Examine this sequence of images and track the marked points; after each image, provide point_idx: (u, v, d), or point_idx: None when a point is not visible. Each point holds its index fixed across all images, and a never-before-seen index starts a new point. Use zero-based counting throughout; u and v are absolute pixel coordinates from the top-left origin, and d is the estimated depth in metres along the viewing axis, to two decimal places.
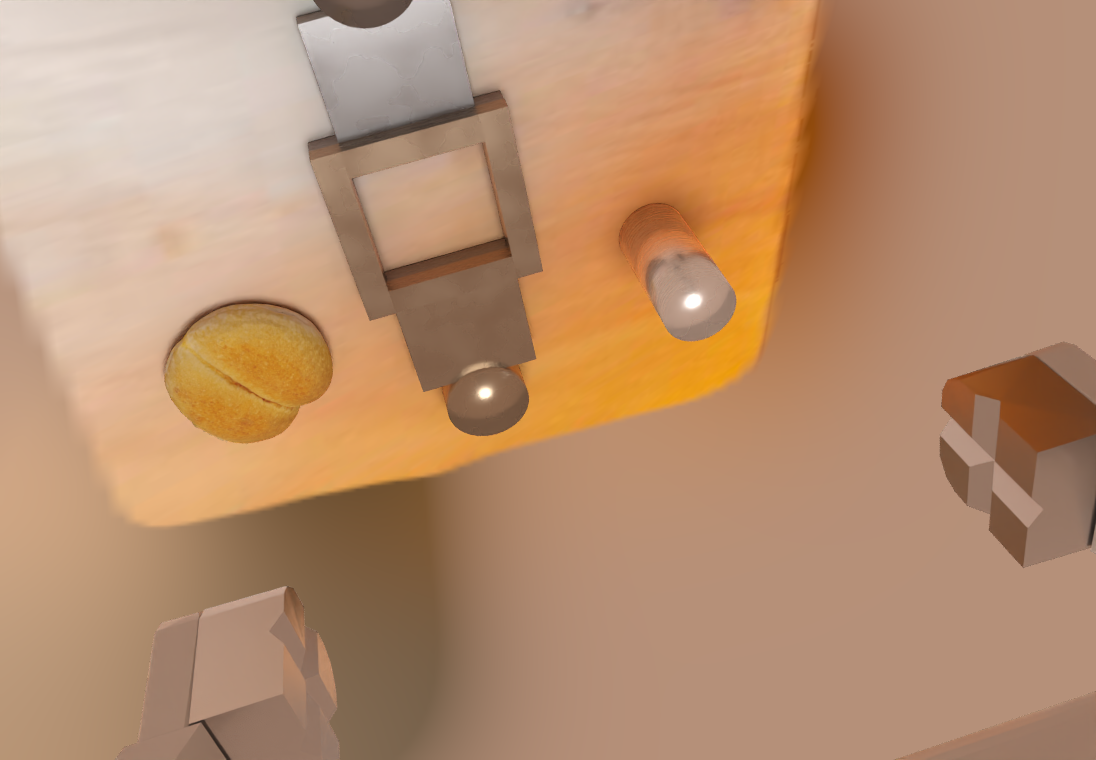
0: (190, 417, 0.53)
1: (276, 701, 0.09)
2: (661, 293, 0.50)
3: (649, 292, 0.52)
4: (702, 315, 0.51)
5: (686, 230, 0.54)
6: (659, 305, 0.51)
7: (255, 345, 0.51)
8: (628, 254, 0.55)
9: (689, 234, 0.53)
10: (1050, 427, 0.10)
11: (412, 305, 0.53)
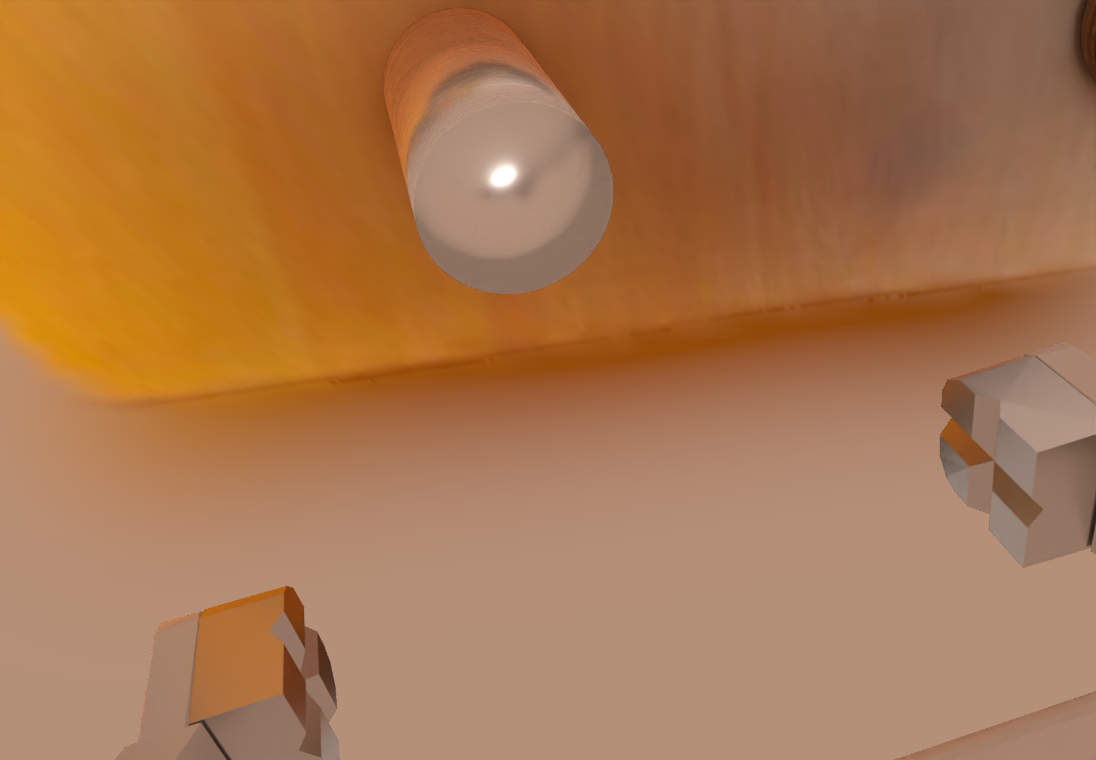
0: None
1: (276, 701, 0.09)
2: (539, 92, 0.19)
3: (480, 69, 0.20)
4: (497, 213, 0.19)
5: None
6: (508, 90, 0.19)
7: None
8: (462, 25, 0.23)
9: None
10: (1050, 427, 0.10)
11: None
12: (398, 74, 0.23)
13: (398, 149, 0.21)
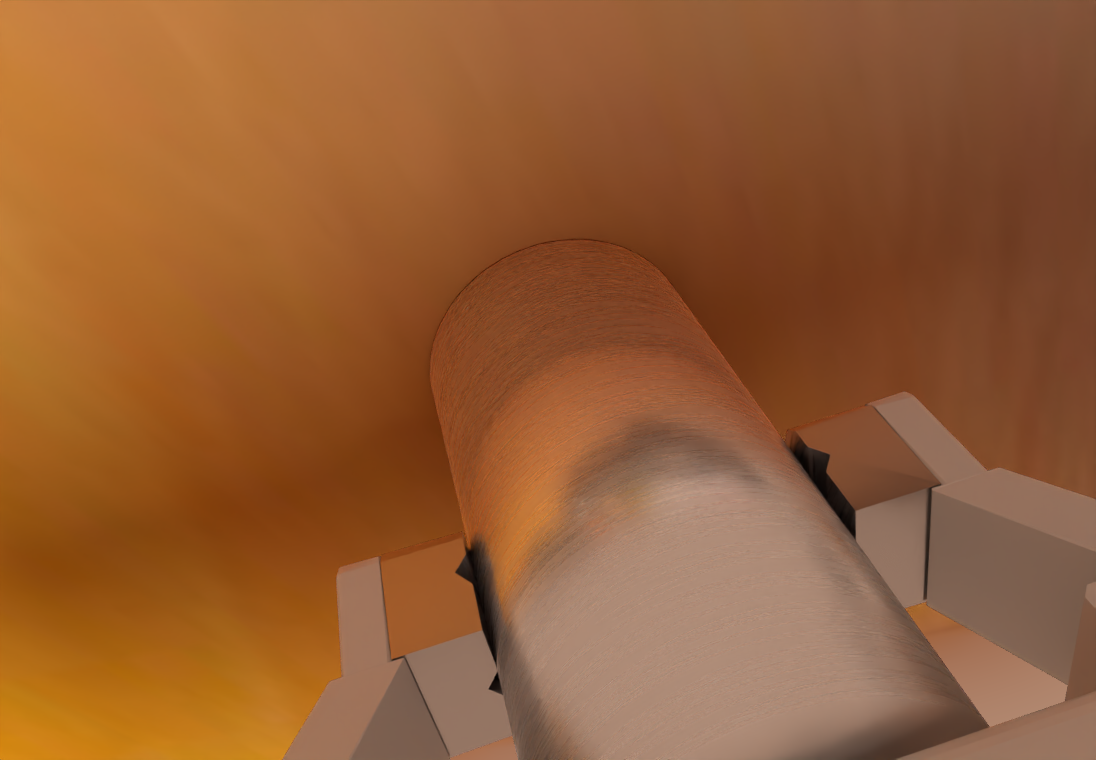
0: None
1: (474, 638, 0.10)
2: (848, 605, 0.08)
3: (681, 495, 0.09)
4: None
5: None
6: (788, 622, 0.08)
7: None
8: (593, 302, 0.12)
9: None
10: (873, 484, 0.10)
11: None
12: (469, 396, 0.12)
13: (480, 591, 0.11)
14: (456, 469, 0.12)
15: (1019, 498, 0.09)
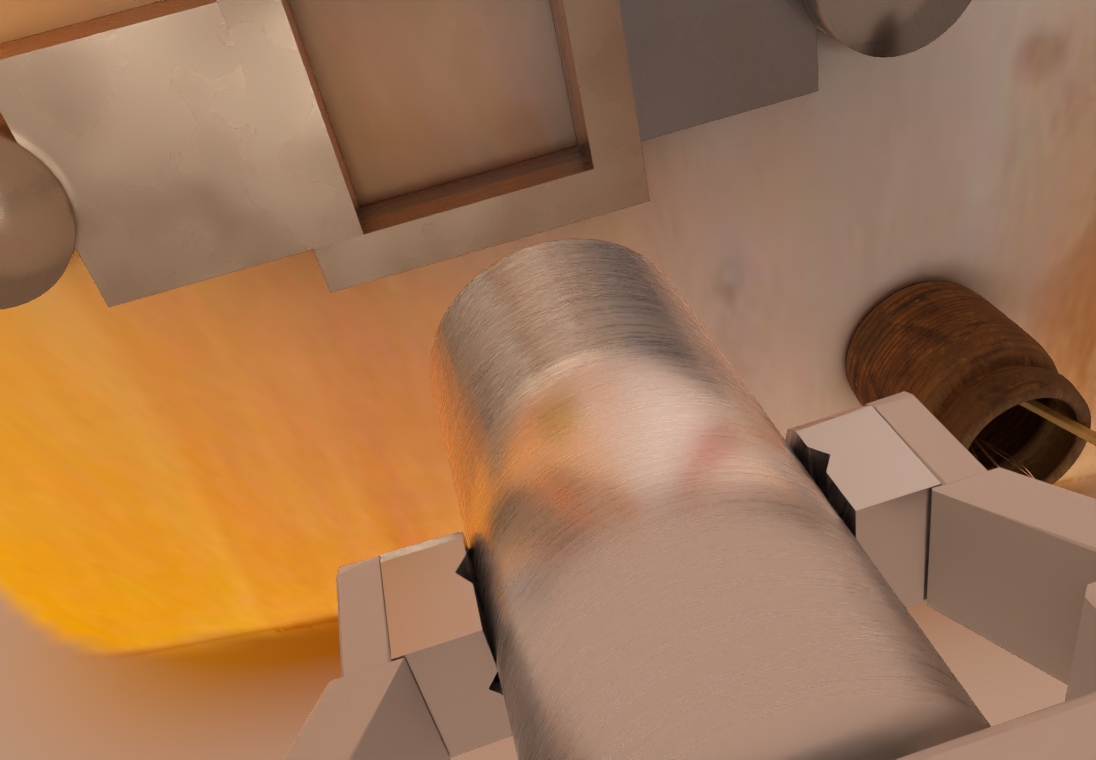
0: None
1: (475, 638, 0.10)
2: (849, 604, 0.08)
3: (683, 494, 0.09)
4: None
5: None
6: (788, 623, 0.08)
7: None
8: (593, 301, 0.12)
9: None
10: (873, 484, 0.10)
11: (239, 39, 0.24)
12: (470, 395, 0.12)
13: (481, 591, 0.11)
14: (456, 469, 0.12)
15: (1018, 499, 0.09)
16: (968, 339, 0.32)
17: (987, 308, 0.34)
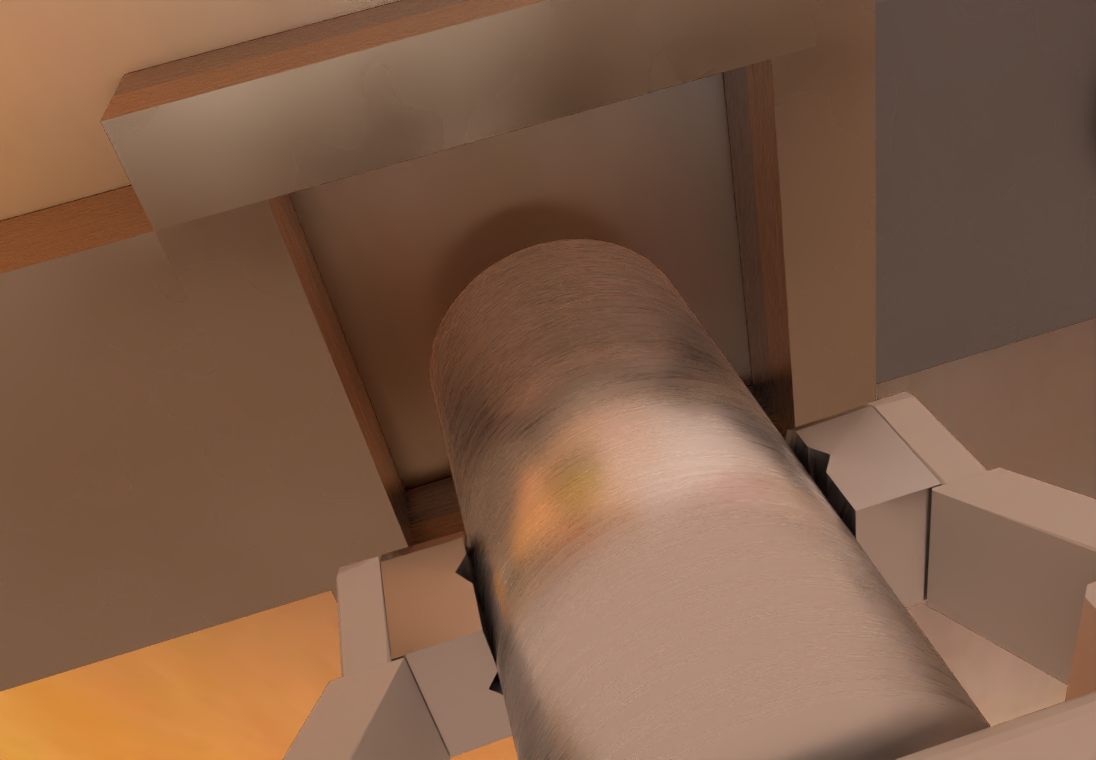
0: None
1: (475, 638, 0.10)
2: (850, 605, 0.08)
3: (682, 495, 0.09)
4: None
5: None
6: (788, 621, 0.08)
7: None
8: (593, 301, 0.12)
9: None
10: (873, 484, 0.10)
11: (199, 291, 0.13)
12: (469, 395, 0.12)
13: (480, 591, 0.11)
14: (456, 469, 0.12)
15: (1019, 498, 0.09)
16: None
17: None
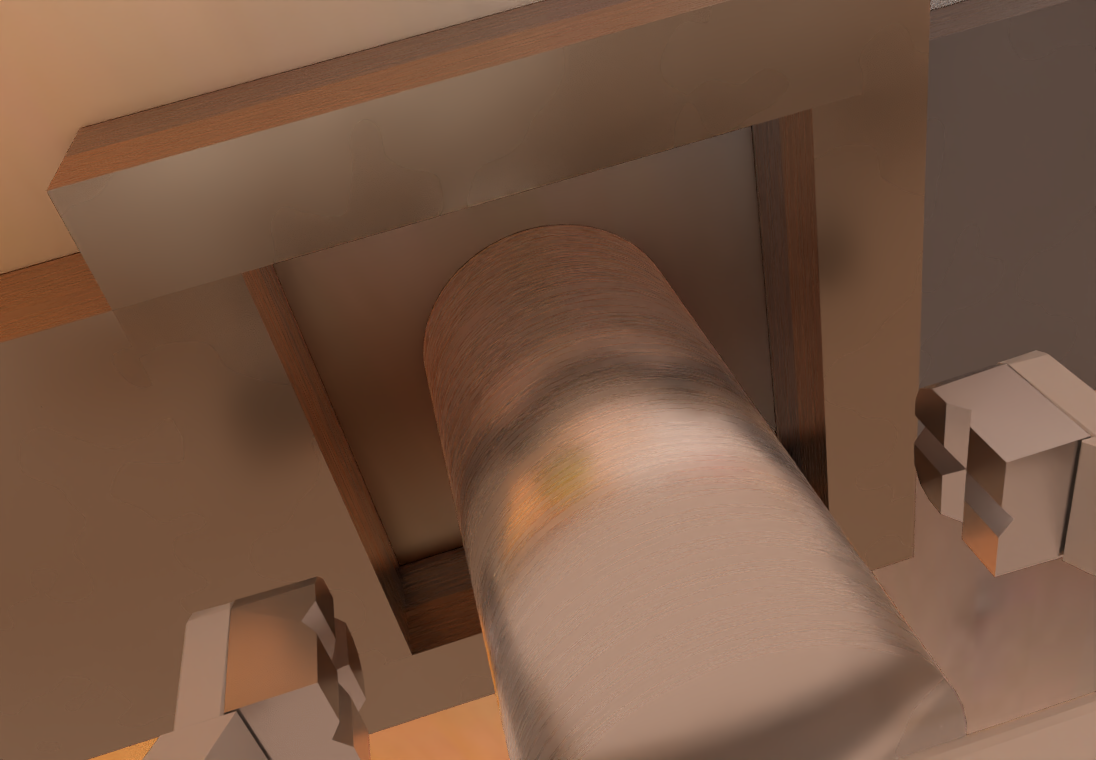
0: None
1: (311, 690, 0.09)
2: (814, 563, 0.08)
3: (658, 462, 0.09)
4: None
5: None
6: (753, 578, 0.08)
7: None
8: (579, 283, 0.12)
9: None
10: (1020, 437, 0.10)
11: (166, 374, 0.12)
12: (459, 374, 0.12)
13: (468, 559, 0.11)
14: (446, 444, 0.12)
15: None
16: None
17: None
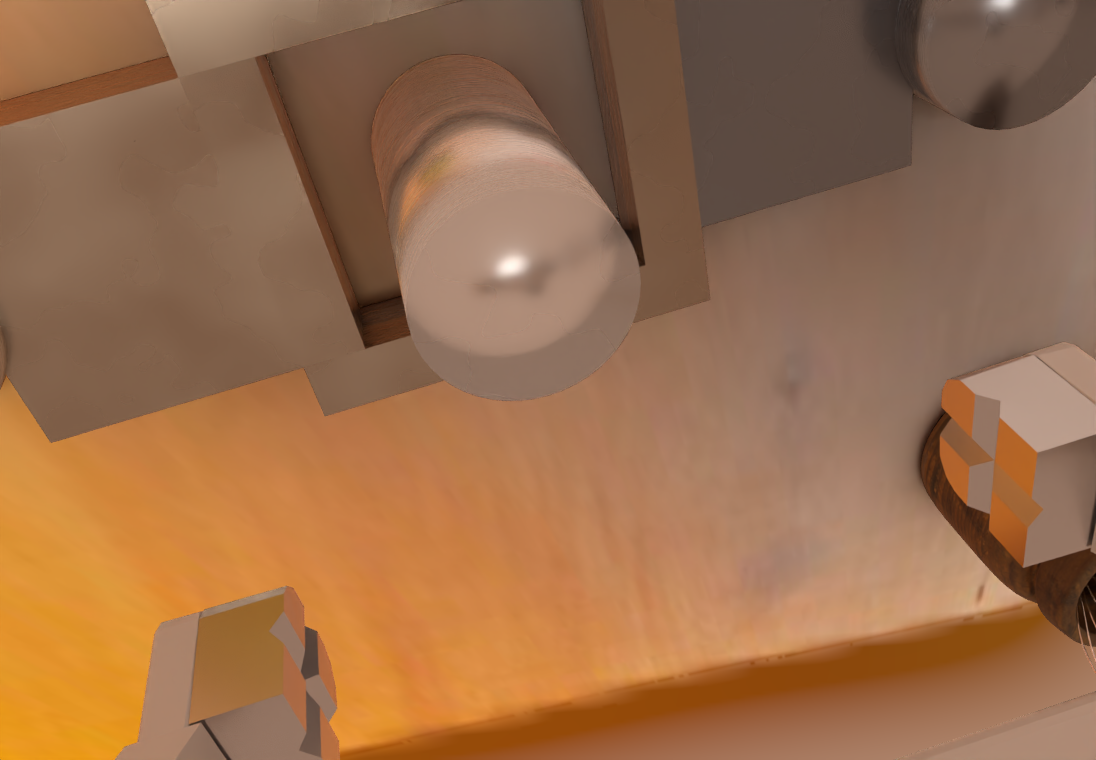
0: None
1: (276, 701, 0.09)
2: (554, 170, 0.16)
3: (483, 138, 0.17)
4: (504, 313, 0.16)
5: None
6: (518, 170, 0.16)
7: None
8: (461, 77, 0.20)
9: None
10: (1050, 427, 0.10)
11: (208, 123, 0.19)
12: (388, 133, 0.20)
13: (387, 224, 0.19)
14: (379, 176, 0.20)
15: None
16: None
17: None
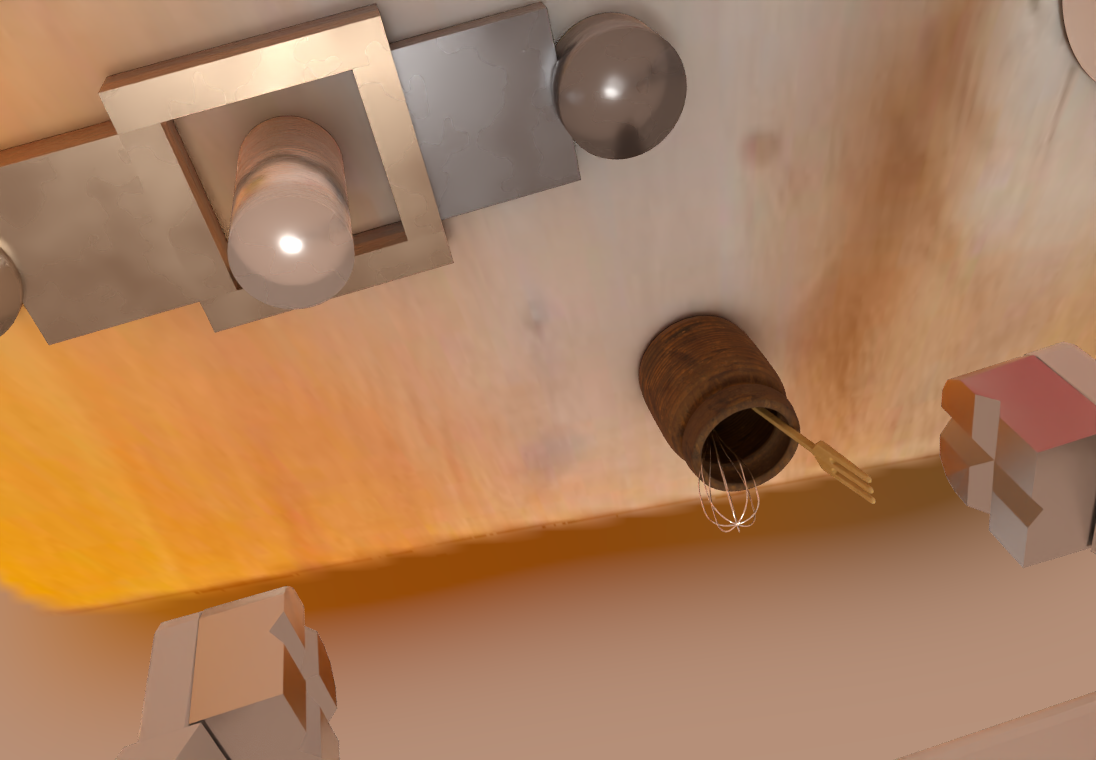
0: None
1: (276, 701, 0.09)
2: (305, 188, 0.31)
3: (276, 170, 0.32)
4: (281, 261, 0.31)
5: None
6: (284, 187, 0.31)
7: None
8: (281, 132, 0.35)
9: None
10: (1050, 427, 0.10)
11: (136, 158, 0.34)
12: (239, 164, 0.35)
13: None
14: None
15: None
16: (709, 362, 0.42)
17: (733, 338, 0.44)
